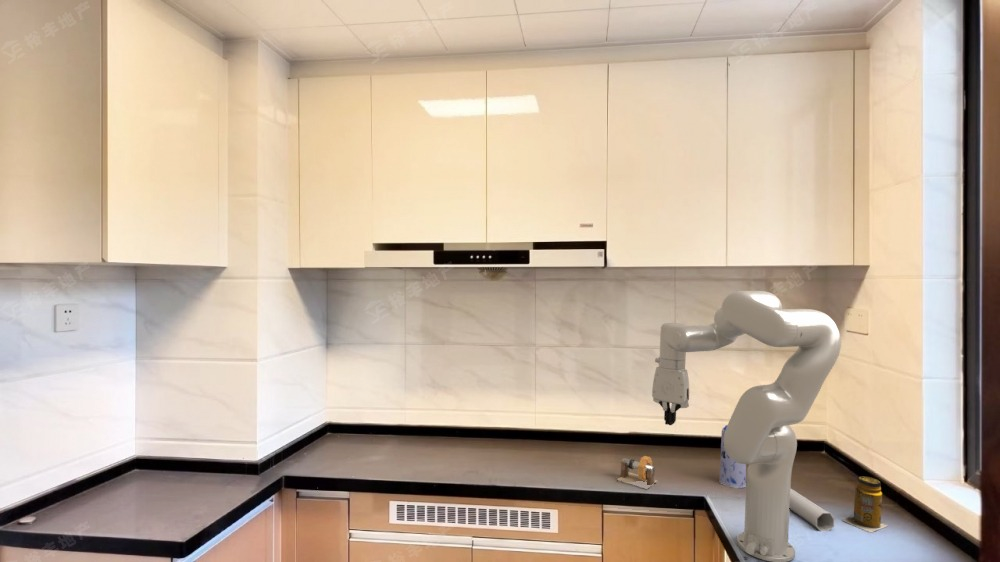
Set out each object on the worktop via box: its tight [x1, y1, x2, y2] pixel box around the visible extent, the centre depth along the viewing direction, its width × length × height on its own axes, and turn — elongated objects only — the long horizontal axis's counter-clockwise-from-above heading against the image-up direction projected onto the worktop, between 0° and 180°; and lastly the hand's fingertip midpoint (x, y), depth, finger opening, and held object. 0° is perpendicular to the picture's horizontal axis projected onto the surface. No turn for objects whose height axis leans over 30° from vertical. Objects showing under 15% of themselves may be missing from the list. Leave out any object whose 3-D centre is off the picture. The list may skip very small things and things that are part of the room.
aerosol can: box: [718, 424, 747, 489], centre depth 167 cm, size 8×8×20 cm
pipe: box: [621, 457, 655, 474], centre depth 166 cm, size 3×10×3 cm, turn 50°
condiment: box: [842, 476, 889, 534], centre depth 142 cm, size 7×8×12 cm
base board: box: [616, 460, 658, 485], centre depth 166 cm, size 8×10×6 cm
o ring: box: [637, 455, 654, 481], centre depth 165 cm, size 7×2×7 cm, turn 140°
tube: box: [789, 487, 835, 532], centre depth 150 cm, size 5×5×25 cm
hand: (669, 423), depth 160 cm, fingers closed
